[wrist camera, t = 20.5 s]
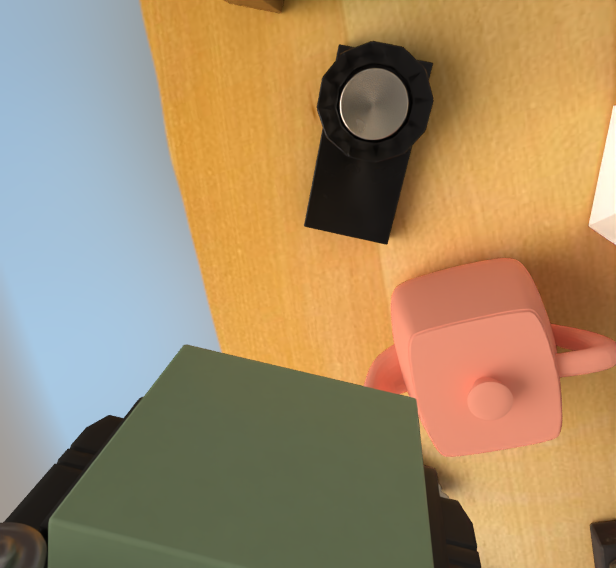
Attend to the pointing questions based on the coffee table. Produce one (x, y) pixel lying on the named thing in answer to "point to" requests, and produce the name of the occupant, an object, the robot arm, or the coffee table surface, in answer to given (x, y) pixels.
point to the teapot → (483, 357)
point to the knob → (374, 104)
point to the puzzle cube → (606, 189)
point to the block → (251, 476)
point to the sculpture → (604, 544)
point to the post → (260, 4)
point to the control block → (365, 147)
